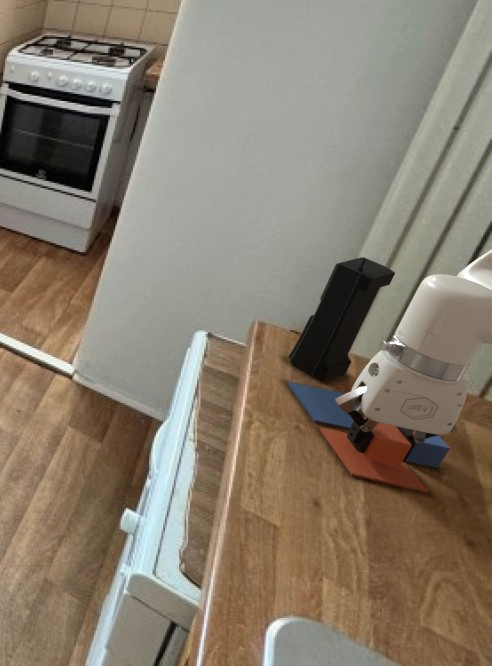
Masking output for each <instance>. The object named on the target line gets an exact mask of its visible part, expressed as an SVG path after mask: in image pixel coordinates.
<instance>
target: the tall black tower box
mask: <svg viewBox="0 0 492 666" xmlns="http://www.w3.org/2000/svg"><path fill="white" fill-rule="evenodd" d="M395 275H396V272H395V271H394V270H392V269H390V268H389V267H388V266H385V265H382V264H381V263H378V262H376V261H374V260H371V259H369V258H367V257H364V256H362V257H361V256H360V257H357V258H352V259H348V260H345V261H341V262H337V263H335V265H334V268H333V270H332V271H331V274H330V276H329V278H328V281H327V283H326V285H325V287H324V289H323V291H322V293H321V295H320V298H319V299H320V302H319V304H318V306H317V307H316V310H315V311H314V313H313V314H312V315H310V316H309V318H308V320H307V322H306V324H305V326H304V328H303V330H302V332H301V334H300V336H299V338H298V339H297V342H296V343H295V345H294V347H293V348H292V350H291V352H290V353H289V354H288V359H289V363H290V364H292V365H293V366H295V367H297V368H298V369H299V370H301V371H303V372H305V373H306V374H308V375H310V376H312V377H313V378H316V379H318V380H321V381H322V382H327V381H330V380H332V379H337V378H339V377H342V376H344V375H346V373H347V372H348V371H349V368H350V366H351V364H352V360H351V358H350V357H349V353H350V351H351V349H352V346H353V344H354V342H355V340H356V338H357V336H358V334H359V331H360V330H361V328H362V326H363V323H364V322H365V319H366V317H367V316H368V313H369V311H370V309H371V307H372V305H373V303H374V301H375V300H376V296H377V294H378V292H379V291H380V289H381V288H383V287H386V286H387V287H388V286H390V285H391V283H392V282H393V279H394V277H395Z"/></svg>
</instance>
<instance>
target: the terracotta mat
mask: <svg viewBox="0 0 492 666" xmlns="http://www.w3.org/2000/svg"><path fill="white" fill-rule="evenodd" d="M319 431H320V432H321V434H322V435H323V437H324V438H325V440H326V441H327V443H328V444H329V445H330V447H331V448H332V449H333V451H334V452H335V454H336V455H337V456H338V458H339V460H340V461H341V462H342V464H343V465H344V466H345V468H346V470H347V471H348V473H349V474H350V475H351V476H353V477H357V478H361V479H365V480H370V481H374V482H378V483H382V484H387V485H391V486H396V487H398V488H399V487H401V488H404V489H409V490H413V491H418V492H422V493H426V494H427V493H428V492H429V490H428V489H427V488H426V486H425V485H424V484H423V483H422V482H421V481H420V480H419V478H418V477H417V475H416V474H415V473H414V472H413V471H412V469H411V468H410V467H409V466H408V464H407V463H406V461H405V462H402V463H401V465H395V464H391V463H387V462H382V461H378V460H373V459H369V458H366V457H365V456H364V455H363V453H360V452H357V450H356V449H355V448H354V446H353V445H352V444H351V442H350V441H349V440H348V438H347V433H348V432H344V431H339V430H334V429H330V428H325V427H319Z"/></svg>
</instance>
